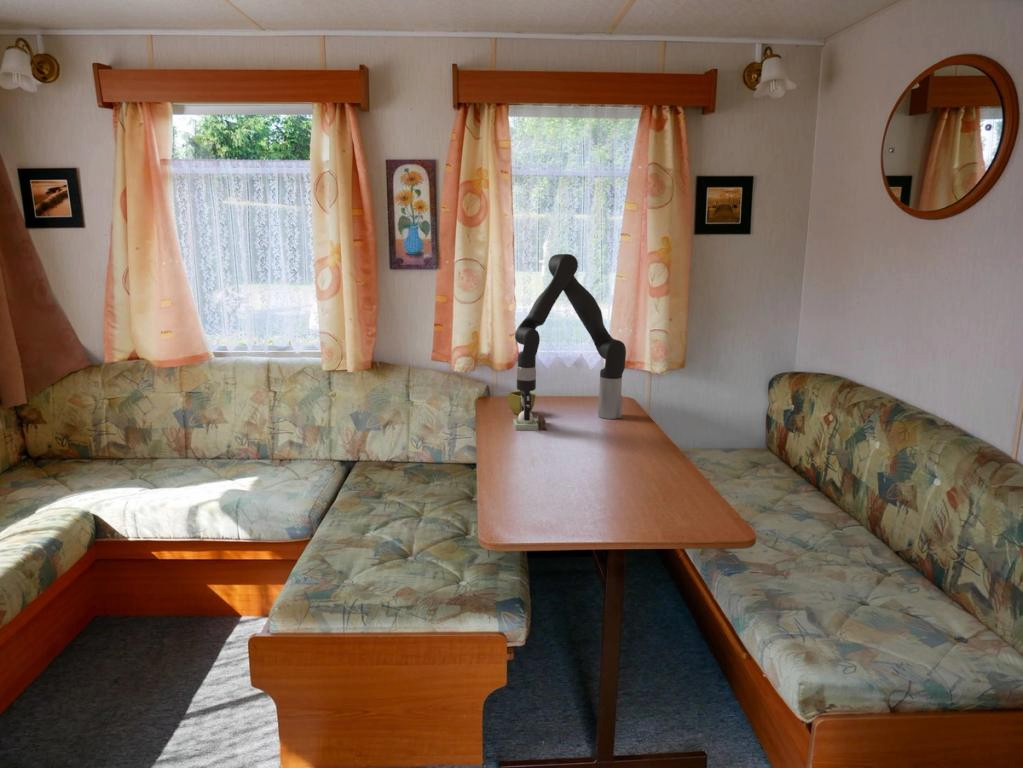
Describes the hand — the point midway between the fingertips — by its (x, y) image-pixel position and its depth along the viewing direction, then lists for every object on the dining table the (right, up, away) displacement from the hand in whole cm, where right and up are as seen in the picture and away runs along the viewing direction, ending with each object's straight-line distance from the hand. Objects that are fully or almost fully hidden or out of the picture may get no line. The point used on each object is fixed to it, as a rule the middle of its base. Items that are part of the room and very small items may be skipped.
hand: (525, 417), depth 272 cm
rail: (+6, -4, +2) cm, 8 cm away
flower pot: (-1, 0, +20) cm, 20 cm away
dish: (0, -4, +1) cm, 4 cm away
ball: (0, -3, +1) cm, 3 cm away
